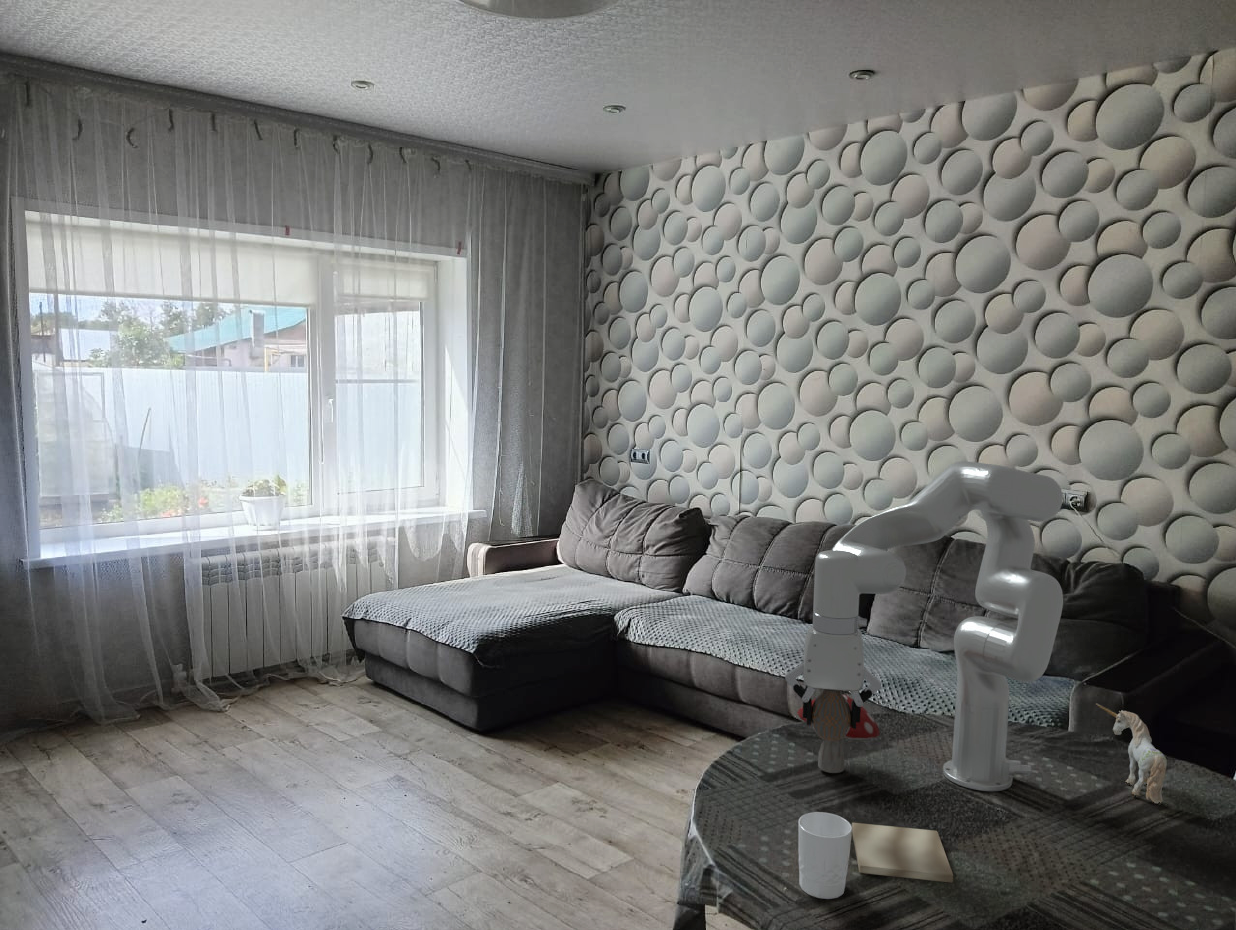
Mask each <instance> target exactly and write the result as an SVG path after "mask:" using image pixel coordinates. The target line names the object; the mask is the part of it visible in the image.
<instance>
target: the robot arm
mask: <svg viewBox="0 0 1236 930" xmlns="http://www.w3.org/2000/svg"><path fill="white" fill-rule="evenodd" d="M1062 490H1063V489H1062V488H1061V486H1060V485H1059V483H1058V482H1057V481H1056V480H1055V479H1054V478H1052V477H1050V476H1048V475H1044V474H1040V473H1039V474H1038V473H1034V472H1030V471H1026V470H1025V471H1024V470H1020V469H1016V468H1012V467H1008V466H1005V465H997V464H993V463H991V464H990V463H984V462H976V461H965V460H964V461H957V462H954V463H953V464H951V465H948V466H947V467H946V468H945V469H944V470H943V471H942V472H940V473H939V474H938V475H937V476H936V477H935V478H934V479H933V480H932V481H931V482H929V483H928V484H926V486H925V487H924V488H923V489H921V490H920V491H919V492H918V493H917V494H916V495H915V496H913V497H912V498H911V499H910V500H909V501H908V502H906V503H903V504H902V505H899V506H896V507H893V508H891V509H888V510H885V511H883V512H880V513H879V514H875V515H873V516H870V517H868V518H866V519H864V520H862V521H861V522H859V523H857V524H856V525H855V526H853V527H852V528H851V529H849V531H848V532H846V533H845V535H843V536H842V537H841V538H840V539H839V540H838V541H837V542H836V543H835V545H833V547H832V548H831V549H830V550H824V551H820V552H818V554H817V555H816V557H815V561H814V562H815V563H814V564H815V565H814V582H813V584H814V585H813V587H814V588H813V607H812V608H813V609H812V610H813V611H812V626H809V627H808V628H807V632H806V635H805V642H804V647H803V648H804V650H803V658H802V659H803V660H802V662H801V663H800V664H799V665H797V666H796V667H794V668H793V669H792V670H790V671H789V672H787V673H786V674H785V681H786V682H787V684H788V685H789V686H790V687H791V688H792V689H793V691H794V692H795V693H796V695H798V697H799V698H800V700H801V701H802V707H803V718H806V721H807V723H806V726H811V725H810V724H811V713H812V700H813V699H812V696H813V694H814V693H815V691H816V690H837V691H841V692H850V695H851V697H852V699H853V702H852V701H851V714H852V720H851V727H852V728H853V729H856V722H858V723H860V714H861V706H862V707H863V706H864V703H866V702H867V701H868V700H869V699H870V698H872V696H873V695H874V694H876V693H877V691H879V689H881V687H882V683H881V681H880V680H879V679H878V678H877V677H876V676H874V674H872V672H871V671H870V670H868V669H867V668H866V667H865V657H864V655H865V653H864V642H863V641H864V640H863V634H862V631H861V630H860V628H862V627H867V625H868V619H867V618H863V617H861V616H860V615H859V608H860V607H859V606H860V595H861V594H873V595H874V594H876V595H886V594H890V593H893V592H896V590H898V589H899V588H900V587H901V586H902V585H903V583H904V582H905V579H906V576H907V568H906V565H905V562H904V561H903V559H902V558H901V557H900V556H898V555H897V554H896V553H894V552H892V551H890V549H894V548H897V547H904V546H913V545H921V544H922V545H923V544H928V543H931V542H936V541H938V540H941V539H942V538H943V537H944V536H945V535H947V534H948V532H950V531H951V530H952V529H953V528H954V527H955V526H956V525H957V524H958V523H959V522H961V520H963V519H964V518H965V517H966V516H968V514H969V513H971V512H972V511H977V510H979V511H980V513H981V515H982V517H983V519H984V522H985V525H986V530H987V538H986V542H985V547H984V552H983V556H982V560H981V563H980V567H979V571H978V576H977V579H976V584H975V585H976V586H975V592H974V594H975V596H974V597H975V600H976V602H977V603H978V604H979V605H980V606H981V607H982V608H984V609H986V610H988V611H992V612H994V613H997V614H1000V615H1005V616H1007V617H1010V618H1014V619H1017V625H1013V624H1010V623H1008V622H1004V621H1002V620H998V619H995V618H990V617H988V616H977V615H976V616H975V615H974V616H970V617H967V618H965V619H963V620H962V621H961V622H960V623H958V625H957V627H956V630H955V633H954V636H953V647H954V655H955V663H956V696H955V707H954V722H953V723H954V725H953V736H952V737H953V738H952V739H953V740H952V753H951V754H952V755H951V756H952V757H951V760H948V761H946V762H945V763H943V765H942V773H943V775H944V776H945V777H946V778H947V780H949V781H950V782H952V783H954V784H956V785H958V786H961V787H964V788H968V789H970V790H975V791H981V792H1000V791H1004V790H1007V789H1009V788H1011V786H1012V784H1013V776H1014V775H1015V774H1016V775H1021V776H1031V775H1032V766H1031V765H1029V764H1022V763H1021V760H1016V759H1015V760H1011V759H1009V758H1007V757H1006V751H1007V737H1008V724H1009V708H1010V687H1009V686H1010V685H1009V683H1008V680H1007V678H1010V679H1012V680H1015V681H1017V682H1022V683H1032V682H1036V681H1038V680H1039V679H1040V678H1042V676H1043V675H1044V673H1045V671H1046V670H1047V668H1048V665H1049V663H1050V660H1051V657H1052V656H1051V655H1052V652H1053V649H1054V644H1055V641H1056V636H1057V633H1058V628H1059V625H1060V620H1061V616H1062V611H1063V607H1064V596H1063V589H1062V587H1061V585H1060V583H1059V581H1058V580H1057V579H1056V578H1055V577H1054V576H1052V575H1051V574H1048V573H1046V572H1043V571H1038V570H1033V569H1031V567H1032V562H1033V556H1034V551H1035V545H1036V540H1035V535H1034V531H1033V528H1032V526H1031V524H1030V522H1029V521H1031V522H1037V523H1041V522H1042V523H1043V522H1047V521H1049V520H1052V519H1053V518H1054V517H1056V515H1057V514H1059V512H1060V510H1061V508H1062V505H1063V499H1064V498H1063V491H1062ZM801 675H802V677H803V678H802V679H803V684H804V686H803V685H801V683H799V682H798V680H797V678H798V677H801ZM864 680H866V681H867V682H868V683H869V685H868V686H867V687H866V688H864ZM863 688H864V689H863Z"/></svg>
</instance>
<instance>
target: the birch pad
mask: <svg viewBox="0 0 1236 930" xmlns="http://www.w3.org/2000/svg"><path fill="white" fill-rule="evenodd" d="M851 826H852V833H851V835H852V840H853V844H854V850H855V855H856V860H857V866H858V871H859V873H860V874H867V875H868V874H870V875H878V876H886V877H896V878H906V879H916V880H925V881H935V882H945V883H953V882H954V874H953V871H952V868H951V865H950V862H949V860H948V858H947V855H946V852H945V849H944V845H943V843H942V841H941V837H940V835H939V832H938V831H937V830H933V829H921V828H910V827H901V826H892V825H880V824H871V823H861V822H851Z"/></svg>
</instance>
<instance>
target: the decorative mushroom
mask: <svg viewBox="0 0 1236 930" xmlns="http://www.w3.org/2000/svg"><path fill="white" fill-rule="evenodd" d="M842 695H843V696H844V697H845V699H846V700H847V702H848V703H849V706H850V709H851V701H852V702H853V698H851V697H850V696H849V695H846V694H843V693H842ZM815 699H816V698H814V699H811V700H812V705H813V703H814V701H815ZM796 713H797V715H798V717H799V718H800V720H802V722H805V723H806V724H807V721H806V718H803V706H801V707H800V708H799V709H798V711H797V712H796ZM809 726H811V727H812V724H810V725H809ZM880 735H881V733H880V729H879V727H878V724H877V722H876V721H875V719H874V718H873V717H872V716H871V714H870V713H869V712H868V711H867V710H866V709H865V708H864V707H863V705H862V706H861V714H860V723H858V722H856V729H853V728H852V727H851V726H850V729H849V731H848V733H847V734H846V735H845V736H844V737H843V738H844V739H845V738H846V739H849V740H852V741H854V740H859V741H860V740H861V741H862V740H863V741H866V740H872V739H876V738H878V737H879V736H880ZM843 738H842V739H840V740H836V741H830V740H825V739H822V742H821V744H820V747H819V748H820V749H819V751H818V759H817V761H818V762H817V765H818V766H817V767H818V769H819V770H820V771H823V772H825V773H830V774H839V773H841V772H843V771H844V770H845V753H844V747H843Z"/></svg>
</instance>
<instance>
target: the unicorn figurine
mask: <svg viewBox="0 0 1236 930" xmlns="http://www.w3.org/2000/svg"><path fill="white" fill-rule="evenodd" d="M1095 705H1096V706H1097V707H1098V708H1100V709H1101V710H1103V711H1105V712H1106V713H1108V714H1109V715H1111V716H1112V717H1114V718H1116V719H1115V723H1114V724H1113V728H1112V732H1113V733H1114V735H1116V736H1118V735H1119V736H1121V735H1122V732H1123V731H1124V730H1125V729H1127V728H1129V729H1130V730H1131V733H1132V739H1131V741H1130V743H1129V745H1128V749H1127V751H1128V756H1129V762H1130V763H1129V775H1128V778H1127V779H1126V780H1125V782H1127V783H1130V784H1129V785H1130V786H1131V785H1134V786H1133V789H1132V791H1131V793H1132V794H1134V795H1139V796H1140V792H1141V790H1142V785H1143V784H1144V782H1147V785H1146V793H1145V794H1146V795H1145V798H1146V800H1147V801H1148V800H1149V799H1150V800H1151V801H1152V803H1153V802H1154V803H1153V804H1158V803H1159V802H1160V803H1161V802H1163V796H1162V789H1163V787H1164V786H1163V782H1164V780H1165V777H1166V771H1167V765H1168V764H1167V763H1168V760H1167V758H1166V756H1165V755H1164V754H1163V752H1162V751H1160V750H1159V749H1156V748H1155V746H1154V745H1153V744H1152V742H1153V741H1152V737H1151V736H1150V730H1149V729H1148V726H1147V724H1145V723H1144V721H1143V720H1142V719H1141V718H1140V716H1139V715H1138V714H1136V713H1134V712H1130V711H1127V710H1122V709H1121V711H1120V710H1119V711H1118V712H1119V713H1118V714H1117V713H1116V712H1113V711H1112V710H1110V709H1109V708H1106V707H1105V706H1102V705H1101V704H1099V703H1095ZM1136 762H1137V763H1136ZM1136 764H1138V780H1137V782H1136V779H1137V778H1136V775H1135V771H1136V768H1137V766H1136ZM1149 772H1150V773H1149ZM1132 794H1131V795H1132ZM1161 804H1162V803H1161Z"/></svg>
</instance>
